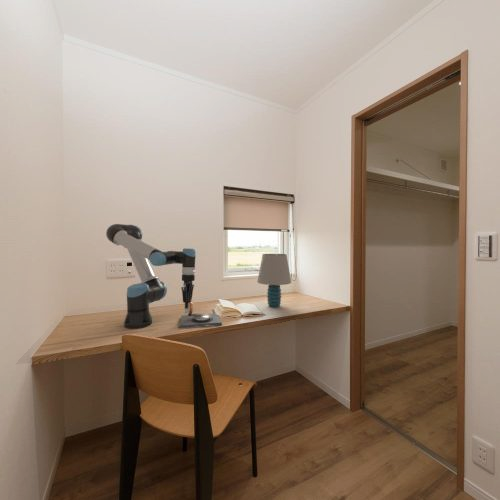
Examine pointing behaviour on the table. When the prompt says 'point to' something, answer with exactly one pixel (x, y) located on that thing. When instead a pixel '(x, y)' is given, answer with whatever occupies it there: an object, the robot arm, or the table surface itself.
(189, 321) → the panel
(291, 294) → the table surface
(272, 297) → the lamp
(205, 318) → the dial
